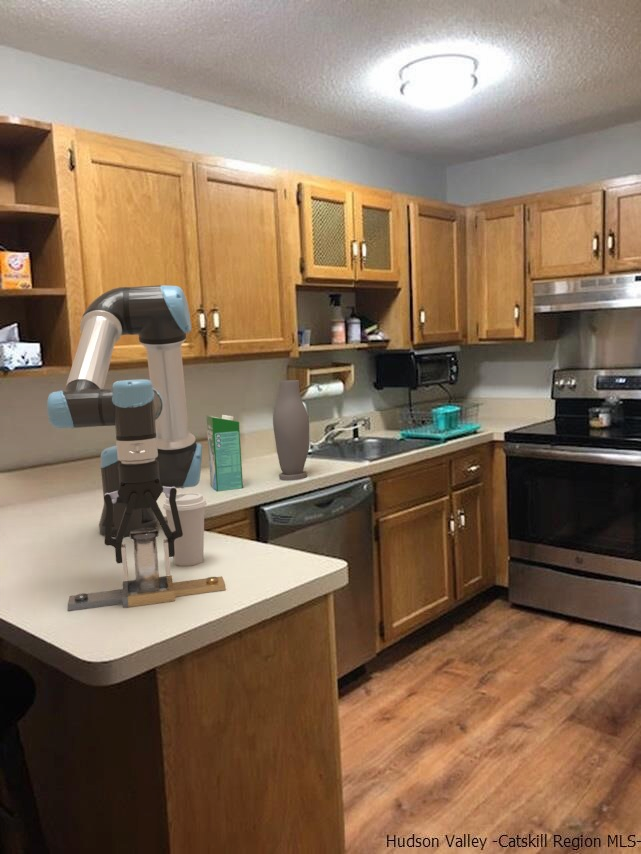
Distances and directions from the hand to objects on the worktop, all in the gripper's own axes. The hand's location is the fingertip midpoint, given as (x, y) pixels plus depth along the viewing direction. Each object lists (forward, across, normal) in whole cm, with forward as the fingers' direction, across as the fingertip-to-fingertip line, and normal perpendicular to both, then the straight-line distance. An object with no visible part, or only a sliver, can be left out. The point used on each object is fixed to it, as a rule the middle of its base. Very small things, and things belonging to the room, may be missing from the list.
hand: (147, 575), depth 137 cm
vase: (+4, +53, +106) cm, 119 cm away
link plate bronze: (+4, +6, 0) cm, 7 cm away
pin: (+4, 0, 0) cm, 4 cm away
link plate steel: (+4, -6, 0) cm, 7 cm away
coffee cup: (+4, +9, +19) cm, 22 cm away
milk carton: (+4, +28, +99) cm, 103 cm away
